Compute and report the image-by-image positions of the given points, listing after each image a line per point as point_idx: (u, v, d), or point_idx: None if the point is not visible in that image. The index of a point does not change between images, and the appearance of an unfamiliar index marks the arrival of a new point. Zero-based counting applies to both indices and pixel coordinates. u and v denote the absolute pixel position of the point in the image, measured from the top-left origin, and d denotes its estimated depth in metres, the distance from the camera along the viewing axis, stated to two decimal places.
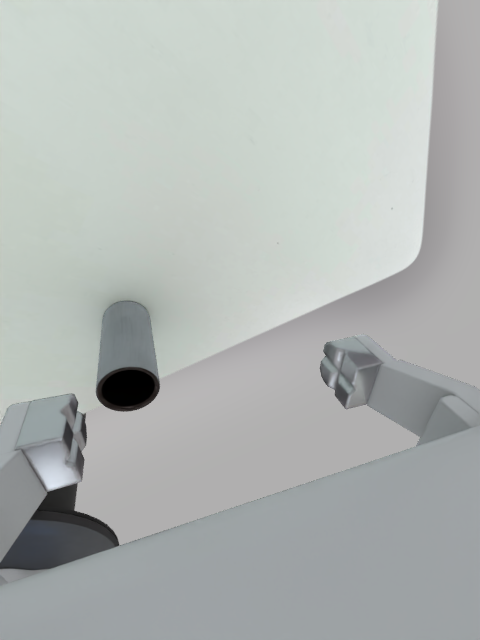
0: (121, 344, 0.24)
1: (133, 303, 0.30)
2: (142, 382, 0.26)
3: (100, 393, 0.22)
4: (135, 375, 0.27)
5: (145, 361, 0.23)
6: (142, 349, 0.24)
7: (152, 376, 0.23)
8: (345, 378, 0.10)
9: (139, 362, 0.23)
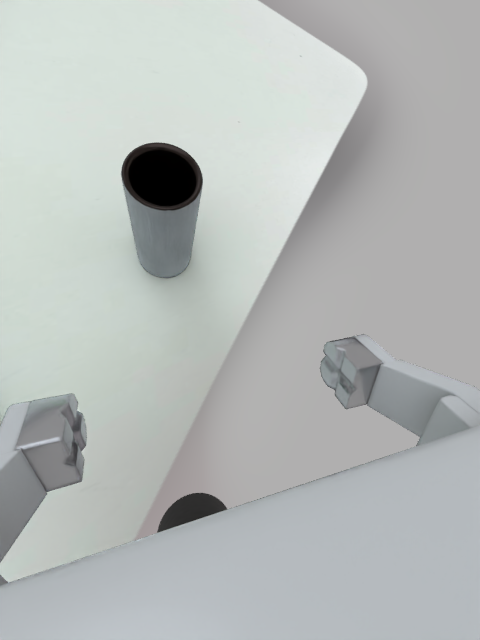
0: None
1: None
2: None
3: (132, 189, 0.17)
4: None
5: None
6: None
7: (176, 148, 0.18)
8: (345, 378, 0.10)
9: None
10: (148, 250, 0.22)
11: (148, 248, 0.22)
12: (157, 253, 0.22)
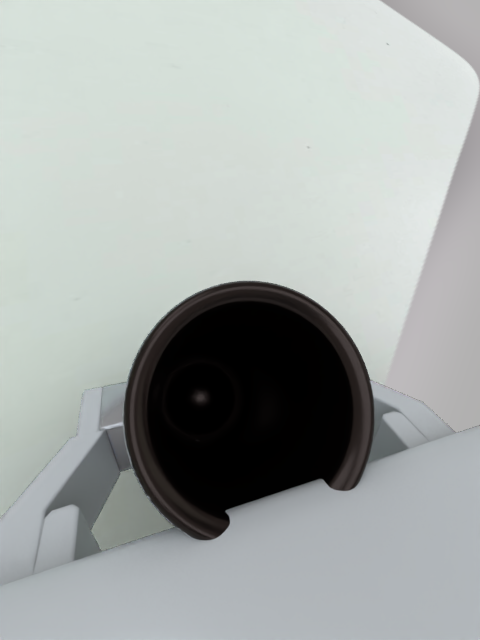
0: None
1: None
2: (300, 421, 0.08)
3: (164, 486, 0.05)
4: (274, 437, 0.09)
5: None
6: None
7: (292, 297, 0.06)
8: None
9: None
10: None
11: None
12: None
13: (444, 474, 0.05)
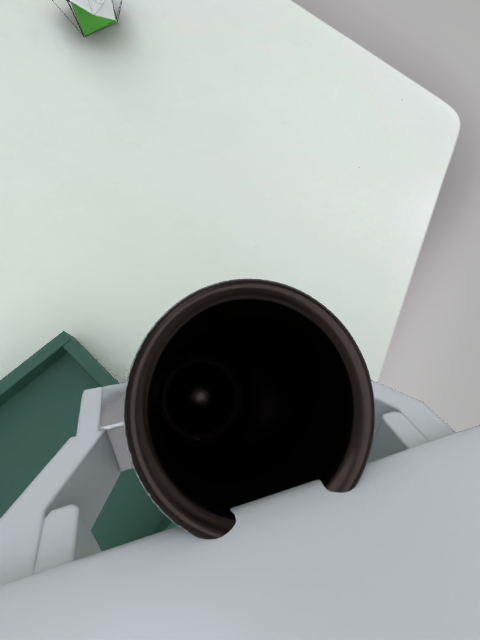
0: None
1: None
2: (300, 419, 0.08)
3: (165, 483, 0.05)
4: (274, 435, 0.09)
5: None
6: None
7: (292, 295, 0.06)
8: None
9: None
10: None
11: None
12: None
13: (444, 474, 0.05)
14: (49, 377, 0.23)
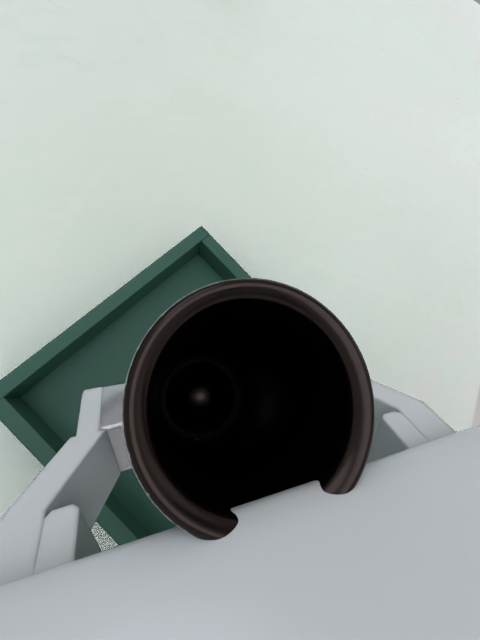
0: None
1: None
2: (300, 419, 0.08)
3: (164, 483, 0.05)
4: (274, 435, 0.09)
5: None
6: None
7: (291, 294, 0.06)
8: None
9: None
10: None
11: None
12: None
13: (444, 474, 0.05)
14: (180, 279, 0.21)
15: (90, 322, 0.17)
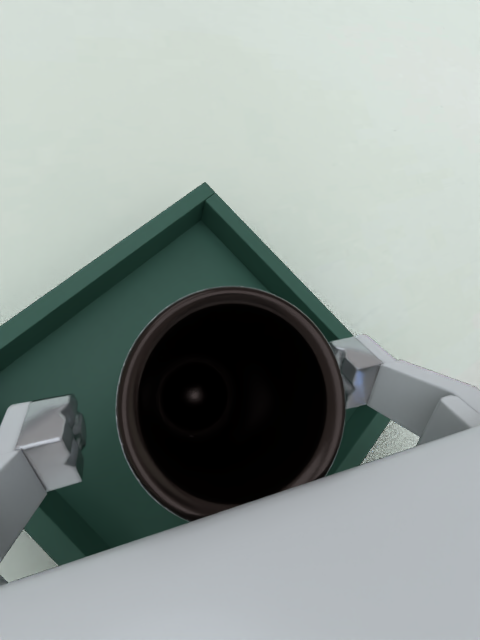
0: None
1: None
2: (283, 415, 0.08)
3: (152, 470, 0.05)
4: (260, 431, 0.09)
5: None
6: None
7: (271, 300, 0.06)
8: (345, 378, 0.10)
9: None
10: None
11: None
12: None
13: (444, 474, 0.05)
14: (178, 251, 0.17)
15: (59, 298, 0.13)
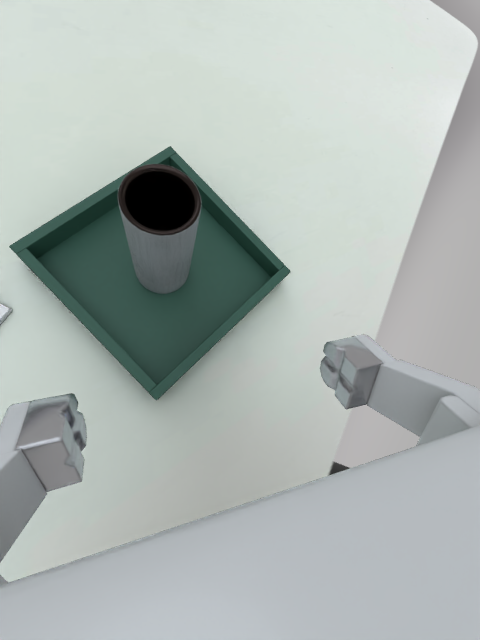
0: None
1: None
2: None
3: (129, 214, 0.16)
4: None
5: None
6: None
7: (174, 169, 0.18)
8: (345, 378, 0.10)
9: None
10: (145, 269, 0.22)
11: (145, 268, 0.21)
12: (155, 272, 0.22)
13: (444, 474, 0.05)
14: None
15: (86, 205, 0.24)
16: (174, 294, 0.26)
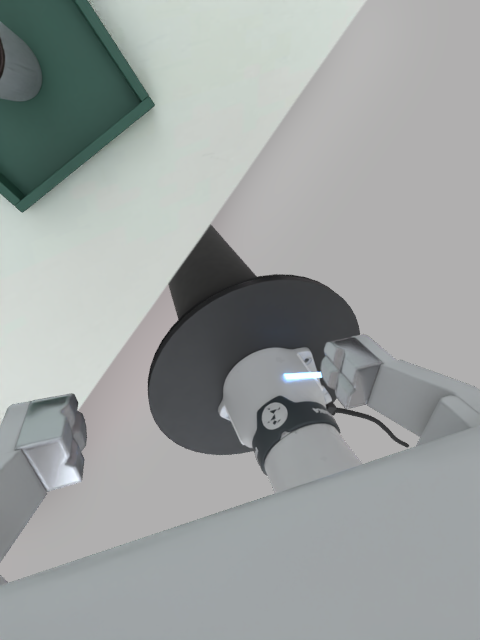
0: None
1: None
2: None
3: None
4: None
5: None
6: None
7: None
8: (345, 378, 0.10)
9: None
10: None
11: None
12: None
13: (444, 474, 0.05)
14: None
15: None
16: (29, 103, 0.26)
